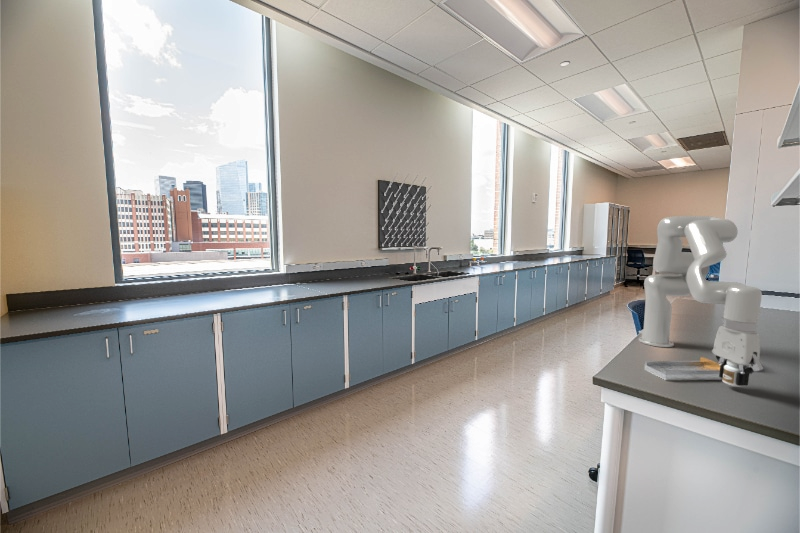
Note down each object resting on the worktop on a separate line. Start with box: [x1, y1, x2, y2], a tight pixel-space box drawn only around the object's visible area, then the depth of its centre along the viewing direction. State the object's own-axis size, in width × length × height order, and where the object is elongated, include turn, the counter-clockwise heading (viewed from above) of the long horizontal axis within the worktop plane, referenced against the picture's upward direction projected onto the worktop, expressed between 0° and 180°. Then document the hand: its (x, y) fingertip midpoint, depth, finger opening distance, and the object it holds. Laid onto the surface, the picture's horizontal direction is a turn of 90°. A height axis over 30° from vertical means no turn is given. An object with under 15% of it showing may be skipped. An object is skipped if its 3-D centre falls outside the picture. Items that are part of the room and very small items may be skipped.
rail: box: [644, 356, 723, 381], centre depth 114 cm, size 9×22×4 cm, turn 92°
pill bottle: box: [721, 360, 740, 387], centre depth 103 cm, size 4×4×8 cm
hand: (733, 380), depth 103 cm, fingers closed on pill bottle, 4 cm apart
